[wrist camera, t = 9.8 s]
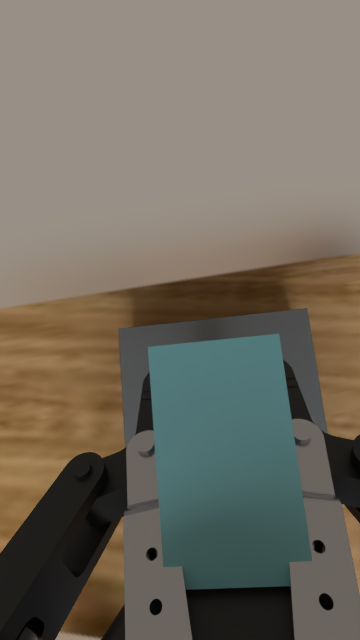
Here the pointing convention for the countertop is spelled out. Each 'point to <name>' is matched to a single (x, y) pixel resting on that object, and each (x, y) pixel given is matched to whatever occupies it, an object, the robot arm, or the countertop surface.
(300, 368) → the gray slotted block
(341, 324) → the countertop surface
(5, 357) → the countertop surface
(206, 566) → the teal rectangular block
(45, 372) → the countertop surface
